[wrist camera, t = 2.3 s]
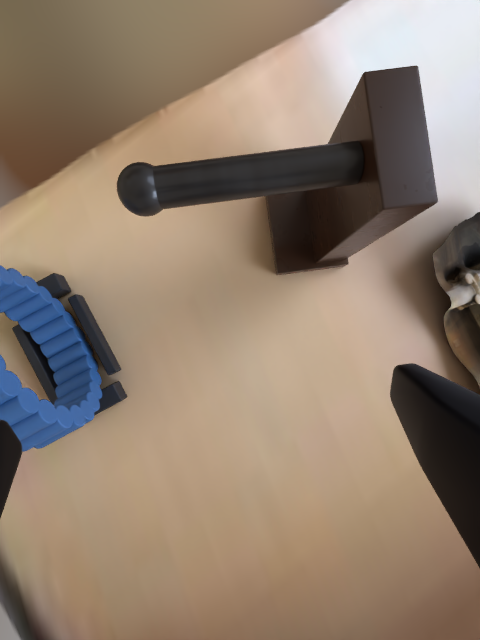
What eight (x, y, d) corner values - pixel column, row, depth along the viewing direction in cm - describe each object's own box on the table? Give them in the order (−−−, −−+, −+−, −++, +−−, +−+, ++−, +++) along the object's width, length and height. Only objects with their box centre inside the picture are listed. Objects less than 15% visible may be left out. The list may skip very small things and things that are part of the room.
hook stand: (333, 185, 22) (422, 55, 12) (344, 266, 22) (446, 210, 11) (161, 207, 22) (92, 95, 11) (172, 289, 22) (112, 253, 11)
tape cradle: (134, 392, 22) (128, 396, 20) (73, 426, 22) (63, 431, 20) (70, 272, 22) (60, 268, 21) (9, 304, 22) (-5, 303, 20)
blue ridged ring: (120, 401, 22) (32, 459, 12) (88, 419, 22) (-25, 489, 12) (55, 278, 22) (-81, 243, 12) (23, 295, 22) (-138, 272, 12)
